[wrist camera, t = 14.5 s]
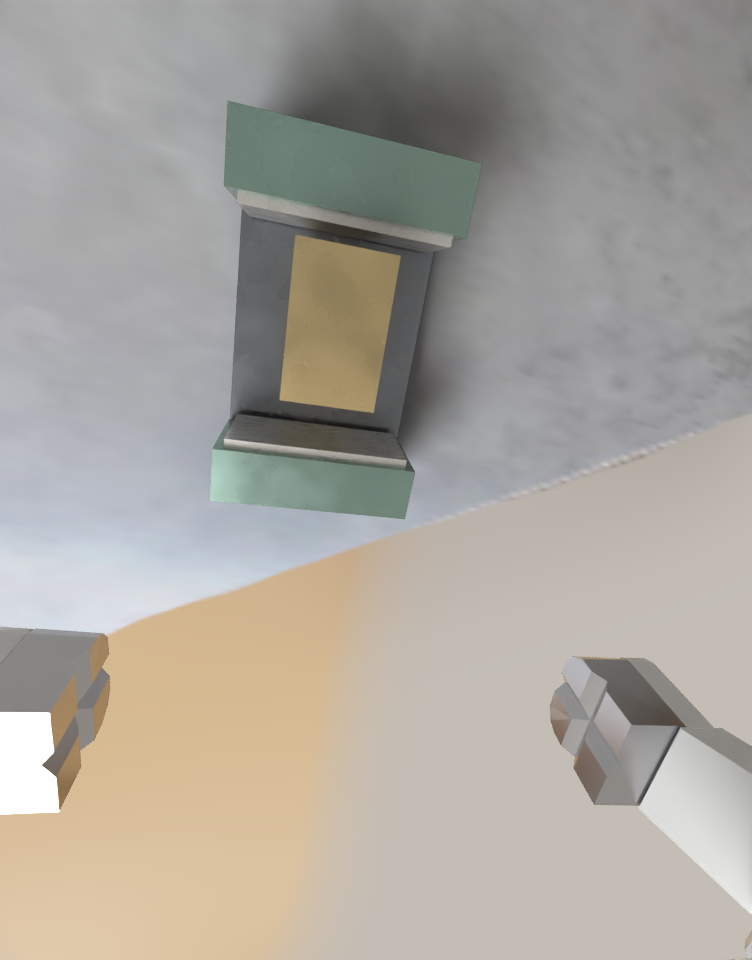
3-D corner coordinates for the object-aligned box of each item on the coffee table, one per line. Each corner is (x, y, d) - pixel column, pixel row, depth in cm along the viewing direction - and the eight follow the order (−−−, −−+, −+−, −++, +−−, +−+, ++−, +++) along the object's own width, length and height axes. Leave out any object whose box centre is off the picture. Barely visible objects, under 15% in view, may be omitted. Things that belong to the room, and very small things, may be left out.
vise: (249, 136, 26) (228, 85, 19) (441, 181, 28) (484, 150, 21) (228, 486, 33) (208, 540, 27) (380, 501, 35) (396, 555, 29)
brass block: (286, 369, 29) (279, 400, 22) (299, 246, 27) (295, 234, 19) (358, 380, 30) (373, 412, 23) (376, 261, 28) (400, 255, 20)
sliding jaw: (229, 411, 30) (212, 439, 24) (399, 433, 32) (416, 463, 26) (226, 463, 31) (209, 500, 26) (389, 480, 33) (404, 518, 28)
